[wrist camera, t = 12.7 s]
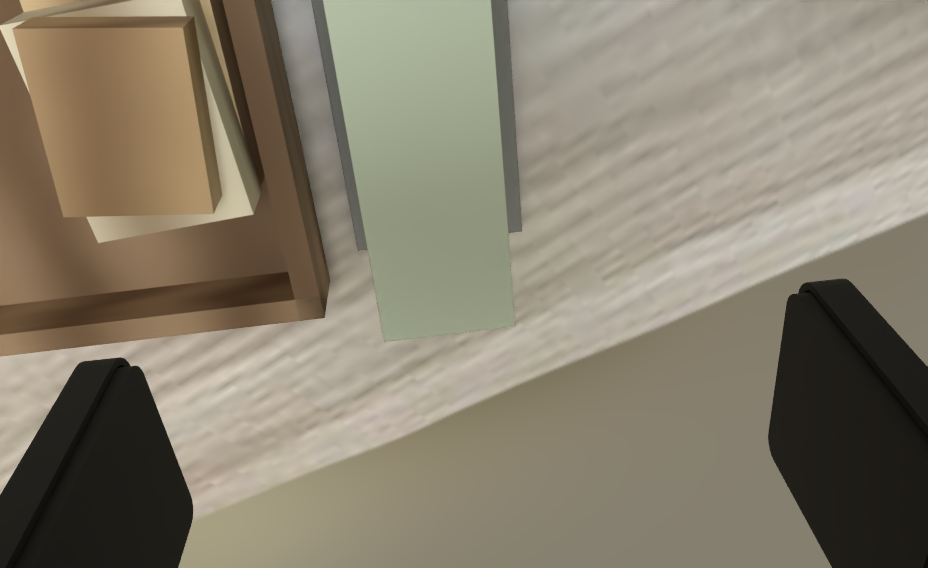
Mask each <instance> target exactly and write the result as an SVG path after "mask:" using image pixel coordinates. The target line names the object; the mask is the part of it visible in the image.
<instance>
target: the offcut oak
mask: <svg viewBox="0 0 928 568" xmlns="http://www.w3.org/2000/svg"><path fill="white" fill-rule="evenodd" d="M19 1H20V3H21V6H22V9H23V11H24V12H26V11H31V10H36V9H41V8H47V7H52V6H57V5H62V4H68V3H73V2H78V1H83V0H19ZM200 3H201V6H202V9H203V12H204V15H205V19H206V22H207V25H208V28H209V31H210V34H211V37H212V40H213V43H214V46H215V49H216V52H217V55H218V58H219V61H220V65H221V68H222V71H223V74H224V77H225V80H226V83H227V86H228V89H229V92H230V95H231V98H232V101H233V104H234V108H235V111H236V114H237V117H238V120H239V123H240V126H241V129H242V132H243V135H244V138H245V141H246V144H247V147H248V151H249V154H250V157H251V160H252V163H253V166H254V169H255V172H256V175H257V178H258V181H259V184H260V187H261V185H262V182H263V180H264V177H265V174H264V170H263V166H262V162H261V158H260V154H259V149H258V145H257V141H256V137H255V133H254V129H253V125H252V120H251V116H250V112H249V108H248V104H247V100H246V96H245V91H244V87H243V83H242V79H241V75H240V71H239V67H238V62H237V58H236V54H235V50H234V46H233V42H232V38H231V34H230V29H229V25H228V21H227V17H226V13H225V9H224V5H223V0H200Z"/></svg>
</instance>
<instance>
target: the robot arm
mask: <svg viewBox="0 0 928 568" xmlns="http://www.w3.org/2000/svg"><path fill="white" fill-rule="evenodd" d="M768 440H769V447H770V451H771V455H772V457H773V460H774V462H775V463H776V465H777V467H778V469H779V471H780V473H781V474H782V476H783V478H784V480H785V482H786V484H787V486H788V487H789V489H790V491H791V493H792V495H793V497H794V498H795V500H796V502H797V504H798V506H799V508H800V509H801V511H802V513H803V515H804V517H805V519H806V520H807V522H808V524H809V526H810V528H811V530H812V532H813V533H814V535H815V537H816V539H817V541H818V543H819V544H820V546H821V548H822V550H823V551H824V554H825V555H826V557H827V559H828V561H829V563H830V565H831V566H832V568H928V366H926V365H925V364H924V363H923V361H921V359H920V358H919V357H918V356H917V355H916V354H915V353H914V351H913V350H912V349H911V348H909V346H908V345H907V344H906V343H905V341H904V340H903V339H902V338H901V337H900V336H899V335H898V334H897V333H896V331H895V330H894V329H893V328H892V327H891V326H890V325H889V324H888V323H887V321H886V320H885V319H884V318H883V317H882V316H881V315H880V314H879V313H878V312H877V311H876V309H875V308H874V307H873V306H872V305H871V304H870V303H869V302H868V300H866V298H865V297H864V296H863V295H862V294H861V293H860V292H859V291H858V289H857V288H856V287H855V286H854V285H853V284H852V283H851V282H850V281H849V280H847V279H834V280H826V281H817V282H807V283H804V284H803V285H802V286H801V288H800V289H799V293H798V294H792V295H790V296H789V298H788V301H787V305H786V313H785V320H784V327H783V334H782V341H781V348H780V356H779V362H778V369H777V376H776V383H775V390H774V398H773V405H772V412H771V420H770V426H769V434H768ZM192 519H193V503H192V498H191V495H190V492H189V490H188V487H187V485H186V482H185V479H184V477H183V474H182V472H181V469H180V466H179V464H178V461H177V459H176V456H175V453H174V451H173V448H172V446H171V443H170V440H169V438H168V435H167V433H166V430H165V428H164V425H163V422H162V420H161V417H160V415H159V412H158V409H157V407H156V404H155V402H154V399H153V396H152V394H151V391H150V389H149V386H148V383H147V381H146V378H145V376H144V373H143V371H142V370H141V369H140V367H138V366H130V365H129V363H128V362H127V361H126V360H125V359H124V358H111V359H102V360H93V361H84V362H81V363H79V364H78V365H77V367H76V368H75V369H74V371H73V373H72V375H71V376H70V378H69V380H68V381H67V383H66V385H65V386H64V388H63V390H62V392H61V393H60V395H59V397H58V398H57V400H56V402H55V403H54V405H53V407H52V408H51V410H50V412H49V414H48V415H47V417H46V419H45V420H44V422H43V424H42V425H41V427H40V429H39V430H38V432H37V434H36V436H35V437H34V439H33V441H32V442H31V444H30V446H29V447H28V449H27V451H26V453H25V454H24V456H23V458H22V459H21V461H20V463H19V464H18V466H17V468H16V469H15V471H14V473H13V475H12V476H11V478H10V480H9V481H8V483H7V485H6V486H5V488H4V490H3V492H2V493H1V495H0V568H178V566H179V563H180V560H181V556H182V553H183V550H184V547H185V543H186V540H187V537H188V533H189V530H190V527H191V523H192Z"/></svg>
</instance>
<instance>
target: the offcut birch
mask: <svg viewBox="0 0 928 568" xmlns="http://www.w3.org/2000/svg"><path fill="white" fill-rule="evenodd" d="M133 16H194V19H195V26H196V32H197V38H198V45H199V51H200V57H201V64H202V70H203V76H204V83H205V89H206V95H207V102H208V108H209V114H210V121H211V127H212V133H213V140H214V146H215V152H216V159H217V165H218V171H219V178H220V184H221V190H222V197H221V199H220V201H219V203H218V206H217V208H216V210H215V212H214V214H191V215H145V216H100V217H87V219H88V222H89V224H90V226H91V228H92V230H93V233H94V235H95V237H96V239H97V241H98V243H101V242H107V241H112V240H117V239H123V238H128V237H134V236H139V235H145V234H150V233H156V232H161V231H167V230H172V229H177V228H183V227H188V226H194V225H199V224H205V223H210V222H216V221H221V220H226V219H232V218H237V217H243V216H248V215H254V212H255V209H256V206H257V203H258V200H259V198H260V195H261V192H262V190H261V187H260V184H259V181H258V178H257V175H256V172H255V169H254V166H253V163H252V160H251V157H250V154H249V151H248V147H247V144H246V141H245V138H244V135H243V132H242V129H241V126H240V123H239V120H238V117H237V114H236V111H235V108H234V104H233V101H232V98H231V95H230V92H229V89H228V86H227V83H226V80H225V77H224V74H223V71H222V68H221V65H220V61H219V58H218V55H217V52H216V49H215V46H214V43H213V40H212V37H211V34H210V31H209V28H208V25H207V22H206V19H205V15H204V12H203V9H202V6H201V3H200V0H83V1H78V2H73V3H68V4H62V5H57V6H52V7H47V8H41V9H36V10H31V11H26V12H23V13H22V14H20V15H18V16H16V17H14V18H12V19H10V20H9V21H7V22H5V23H3V24H1V25H0V30H1V32H2V34H3V36H4V39H5V41H6V43H7V45H8V47H9V50H10V52H11V54H12V56H13V58H14V60H15V63H16V65H17V67H18V69H19V71H20V73H21V76H22V78H23V80H24V82H25V84H26V87H27V89H28V85H27V81H26V78H25V74H24V70H23V67H22V63H21V59H20V56H19V52H18V48H17V45H16V41H15V37H14V34H13V30H12V28H14V27H16V26H18V25H20V24H21V23H23V22H25V21H27V20H28V19H30V18H32V17H133ZM28 91H29V89H28ZM29 93H30V92H29Z"/></svg>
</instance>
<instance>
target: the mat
mask: <svg viewBox="0 0 928 568" xmlns="http://www.w3.org/2000/svg"><path fill="white" fill-rule="evenodd" d="M311 1H312V7H313V12H314V17H315V23H316V28H317V33H318V39H319V44H320V49H321V55H322V60H323V66H324V71H325V76H326V82H327V87H328V92H329V98H330V103H331V108H332V114H333V119H334V125H335V130H336V135H337V141H338V146H339V151H340V157H341V162H342V167H343V173H344V178H345V184H346V189H347V194H348V200H349V205H350V210H351V216H352V221H353V226H354V232H355V237H356V243H357V248H358V251H359V250H368V248H367V243H366V237H365V232H364V226H363V220H362V215H361V209H360V204H359V198H358V193H357V187H356V181H355V176H354V170H353V165H352V159H351V153H350V148H349V142H348V137H347V131H346V126H345V120H344V114H343V109H342V103H341V98H340V92H339V87H338V81H337V75H336V70H335V64H334V59H333V53H332V48H331V42H330V36H329V31H328V25H327V20H326V14H325V9H324V3H323V0H311ZM491 10H492V24H493V37H494V50H495V63H496V77H497V90H498V103H499V117H500V130H501V143H502V156H503V170H504V183H505V196H506V210H507V223H508V233H511V232H520V231H522V223H521V207H520V192H519V177H518V161H517V146H516V130H515V115H514V99H513V84H512V69H511V53H510V38H509V22H508V7H507V0H491Z"/></svg>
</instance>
